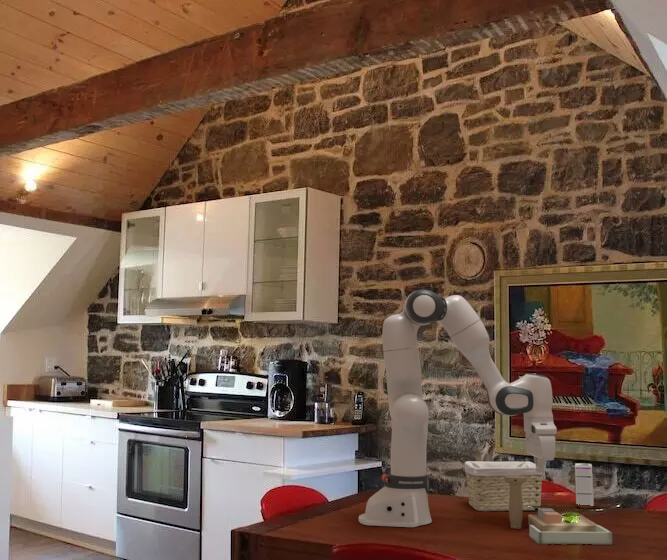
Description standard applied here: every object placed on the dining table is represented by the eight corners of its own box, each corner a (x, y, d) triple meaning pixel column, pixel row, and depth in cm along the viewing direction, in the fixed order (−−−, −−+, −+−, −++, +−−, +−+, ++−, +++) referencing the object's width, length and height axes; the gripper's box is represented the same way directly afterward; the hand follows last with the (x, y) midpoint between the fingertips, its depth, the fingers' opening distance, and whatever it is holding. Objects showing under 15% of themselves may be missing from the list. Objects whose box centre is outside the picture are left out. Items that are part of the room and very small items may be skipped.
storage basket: (473, 512, 261) (473, 466, 262) (463, 503, 277) (463, 460, 278) (545, 512, 262) (544, 466, 263) (531, 503, 278) (530, 460, 279)
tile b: (541, 519, 234) (541, 510, 234) (537, 516, 238) (537, 508, 238) (555, 519, 234) (555, 510, 234) (551, 516, 238) (551, 508, 238)
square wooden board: (543, 536, 225) (543, 525, 226) (528, 524, 241) (528, 514, 242) (599, 536, 226) (599, 525, 226) (580, 524, 242) (580, 514, 242)
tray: (539, 544, 215) (538, 532, 216) (529, 536, 225) (529, 524, 225) (612, 544, 216) (611, 532, 216) (599, 536, 225) (599, 525, 226)
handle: (527, 530, 233) (526, 478, 235) (504, 529, 234) (504, 477, 236) (527, 527, 238) (526, 475, 239) (505, 525, 239) (504, 475, 241)
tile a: (547, 523, 229) (546, 514, 229) (543, 520, 233) (542, 511, 233) (560, 523, 229) (560, 514, 229) (556, 520, 233) (556, 511, 233)
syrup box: (594, 509, 267) (593, 465, 268) (575, 508, 269) (574, 464, 270) (593, 506, 272) (592, 463, 274) (575, 505, 274) (574, 462, 276)
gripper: (519, 423, 256) (521, 467, 255) (537, 429, 236) (538, 476, 234) (539, 423, 256) (540, 467, 255) (558, 429, 236) (560, 476, 234)
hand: (539, 472), depth 244 cm, fingers closed
